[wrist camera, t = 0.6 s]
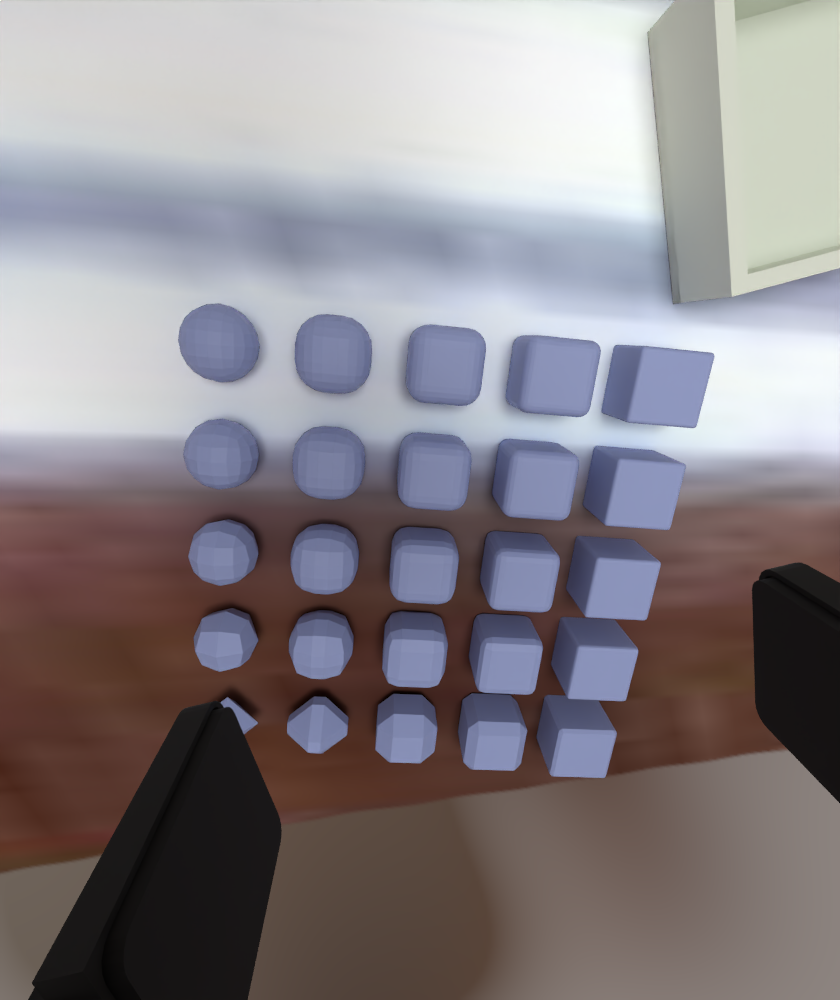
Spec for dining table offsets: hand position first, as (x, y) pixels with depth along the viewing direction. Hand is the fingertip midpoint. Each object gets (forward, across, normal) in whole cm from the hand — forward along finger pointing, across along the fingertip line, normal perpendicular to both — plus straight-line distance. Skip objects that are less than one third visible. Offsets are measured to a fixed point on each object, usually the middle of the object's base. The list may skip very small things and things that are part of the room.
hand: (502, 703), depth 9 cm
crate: (+30, -30, -12) cm, 44 cm away
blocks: (+31, +2, +11) cm, 33 cm away
